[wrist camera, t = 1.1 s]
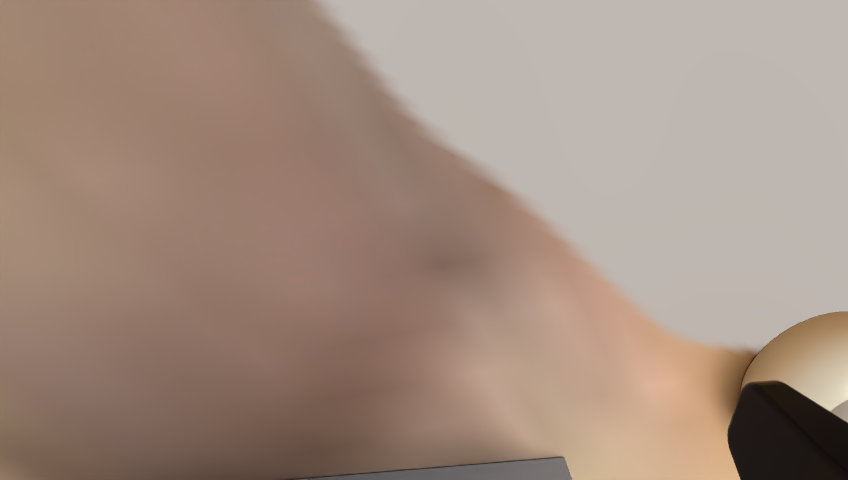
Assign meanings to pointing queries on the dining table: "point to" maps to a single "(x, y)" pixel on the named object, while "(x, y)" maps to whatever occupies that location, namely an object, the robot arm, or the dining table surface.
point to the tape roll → (809, 361)
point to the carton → (475, 472)
